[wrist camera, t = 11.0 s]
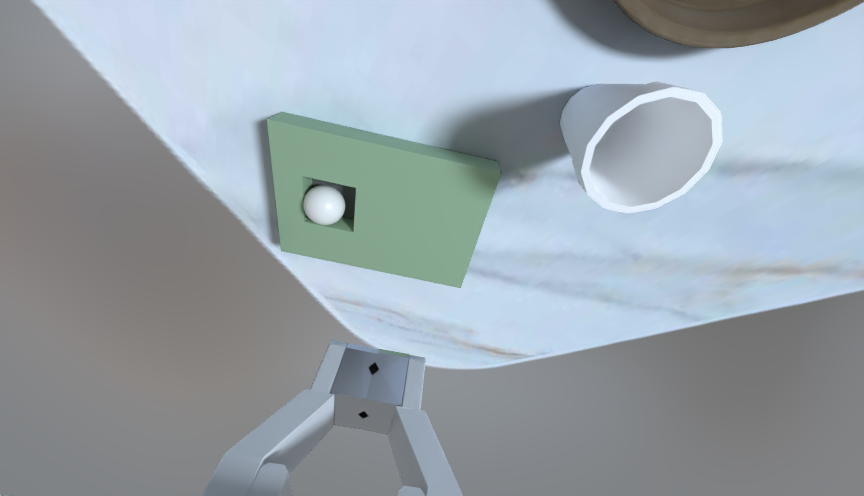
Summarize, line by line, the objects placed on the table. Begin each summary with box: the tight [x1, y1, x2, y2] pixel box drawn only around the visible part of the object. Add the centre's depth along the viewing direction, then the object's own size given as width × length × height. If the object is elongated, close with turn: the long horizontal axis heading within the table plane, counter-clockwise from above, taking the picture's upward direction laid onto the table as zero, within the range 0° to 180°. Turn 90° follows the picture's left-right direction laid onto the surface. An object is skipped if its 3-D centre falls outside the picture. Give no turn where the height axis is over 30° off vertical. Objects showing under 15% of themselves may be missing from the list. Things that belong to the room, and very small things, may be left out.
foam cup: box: [560, 82, 723, 213], centre depth 28 cm, size 10×9×13 cm
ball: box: [303, 185, 345, 225], centre depth 39 cm, size 5×5×5 cm
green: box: [267, 112, 501, 288], centre depth 41 cm, size 18×26×4 cm
